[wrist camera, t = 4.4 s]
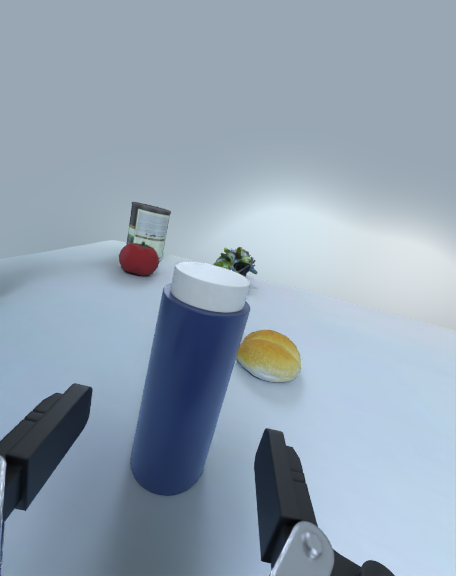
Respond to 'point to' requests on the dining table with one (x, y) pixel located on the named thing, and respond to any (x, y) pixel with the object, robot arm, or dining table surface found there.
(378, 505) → the dining table surface
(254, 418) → the dining table surface
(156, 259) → the tomato
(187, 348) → the water bottle
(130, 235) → the coffee can
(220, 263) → the purple flowering plant
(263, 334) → the bread roll
